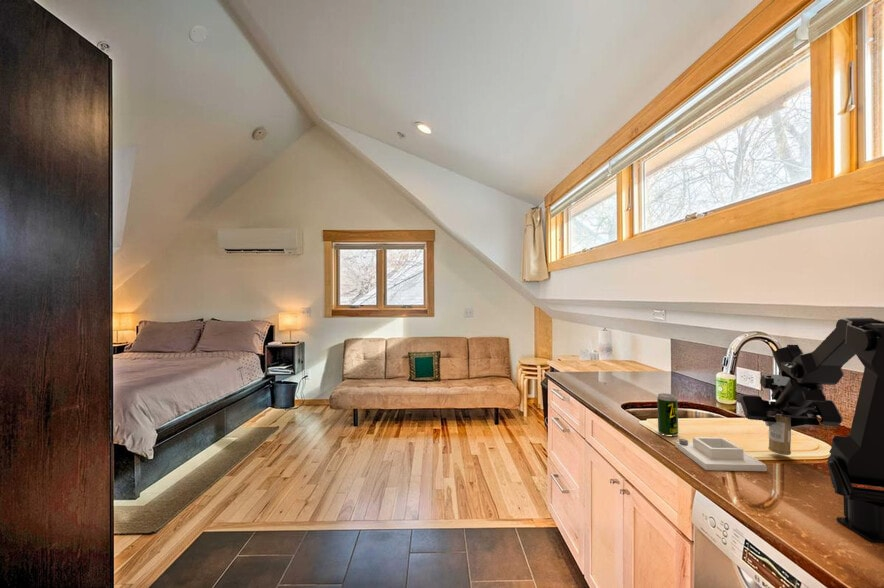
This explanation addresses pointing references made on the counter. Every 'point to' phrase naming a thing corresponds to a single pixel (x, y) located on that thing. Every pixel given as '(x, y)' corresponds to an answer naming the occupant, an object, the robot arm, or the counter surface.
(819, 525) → the counter surface
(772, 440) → the sprinkles bottle
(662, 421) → the beer can
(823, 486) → the counter surface
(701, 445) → the housing
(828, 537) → the counter surface
